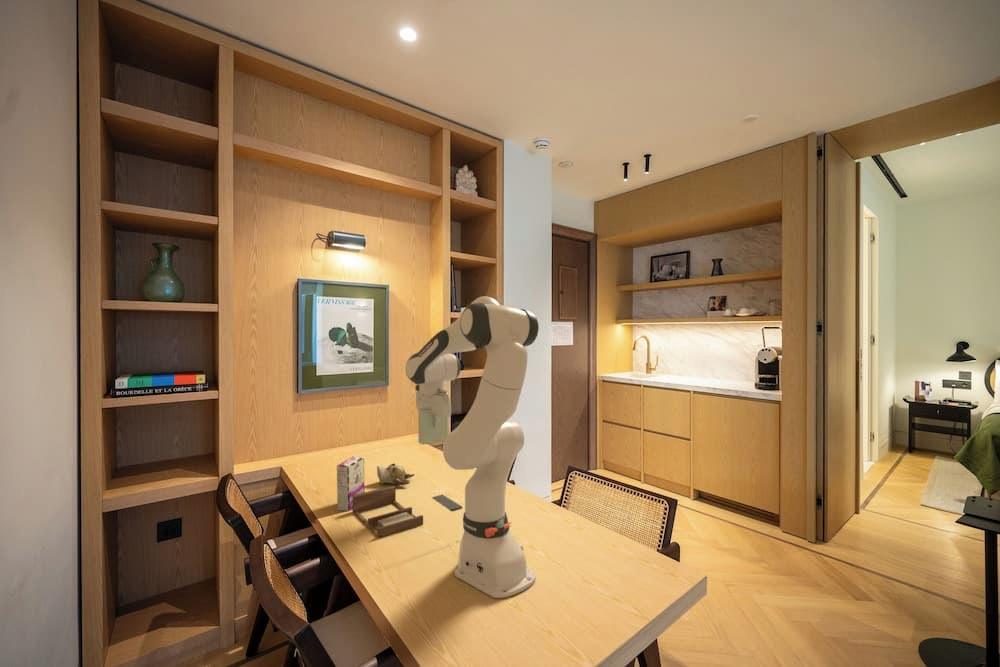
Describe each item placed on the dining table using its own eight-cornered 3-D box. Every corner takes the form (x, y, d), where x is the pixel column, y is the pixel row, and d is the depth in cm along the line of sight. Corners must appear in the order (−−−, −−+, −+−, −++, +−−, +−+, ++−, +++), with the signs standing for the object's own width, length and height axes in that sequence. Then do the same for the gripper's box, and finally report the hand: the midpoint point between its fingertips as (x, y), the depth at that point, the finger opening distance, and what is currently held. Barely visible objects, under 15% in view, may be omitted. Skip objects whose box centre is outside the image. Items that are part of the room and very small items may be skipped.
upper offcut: (414, 523, 139) (414, 517, 139) (385, 533, 133) (385, 526, 133) (406, 518, 144) (406, 512, 143) (377, 526, 137) (377, 520, 137)
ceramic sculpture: (381, 458, 184) (415, 460, 184) (379, 478, 185) (414, 480, 185) (373, 466, 174) (410, 469, 174) (372, 487, 174) (408, 490, 174)
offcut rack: (423, 528, 139) (423, 506, 139) (378, 542, 130) (378, 519, 130) (393, 504, 158) (393, 485, 158) (352, 515, 149) (352, 495, 149)
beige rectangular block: (447, 440, 157) (447, 407, 157) (423, 444, 151) (423, 410, 151) (442, 438, 160) (442, 406, 159) (418, 442, 153) (418, 409, 153)
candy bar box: (353, 498, 163) (353, 455, 163) (365, 499, 162) (365, 456, 162) (336, 510, 152) (336, 464, 152) (348, 512, 151) (348, 465, 151)
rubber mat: (462, 508, 155) (462, 506, 155) (422, 520, 145) (422, 518, 145) (442, 496, 166) (442, 494, 166) (404, 506, 156) (404, 504, 156)
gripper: (455, 390, 149) (455, 430, 149) (427, 384, 165) (427, 420, 165) (439, 392, 145) (439, 432, 145) (412, 385, 161) (412, 422, 161)
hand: (433, 425), depth 155 cm, fingers closed on beige rectangular block, 3 cm apart
